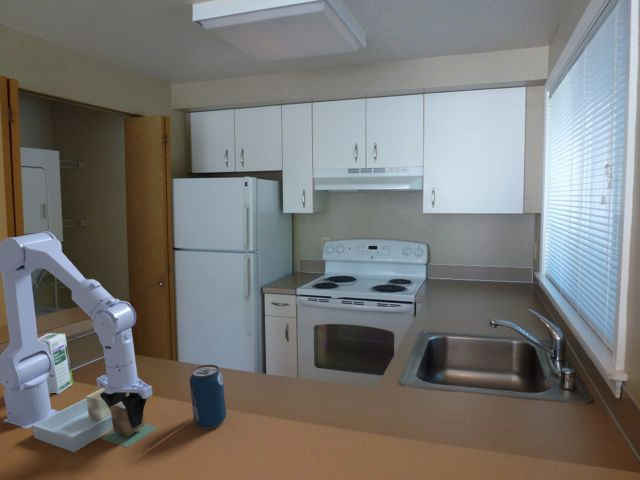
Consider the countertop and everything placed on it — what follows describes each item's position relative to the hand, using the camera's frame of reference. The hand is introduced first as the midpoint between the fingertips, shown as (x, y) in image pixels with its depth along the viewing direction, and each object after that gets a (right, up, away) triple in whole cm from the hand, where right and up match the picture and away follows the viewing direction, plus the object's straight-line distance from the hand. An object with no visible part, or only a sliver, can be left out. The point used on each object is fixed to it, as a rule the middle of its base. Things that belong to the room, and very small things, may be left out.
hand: (128, 423), depth 103 cm
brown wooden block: (0, -1, 0) cm, 1 cm away
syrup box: (-29, -1, +25) cm, 38 cm away
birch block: (-9, -2, +8) cm, 12 cm away
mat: (0, -3, 0) cm, 3 cm away
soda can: (+16, -1, +4) cm, 17 cm away
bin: (-10, -3, +5) cm, 12 cm away
